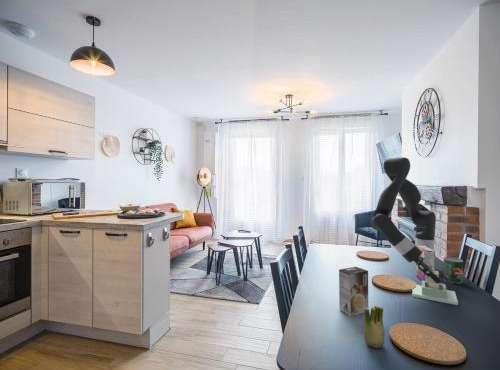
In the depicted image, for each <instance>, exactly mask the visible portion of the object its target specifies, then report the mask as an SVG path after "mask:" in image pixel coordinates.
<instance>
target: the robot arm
mask: <svg viewBox="0 0 500 370" xmlns="http://www.w3.org/2000/svg"><path fill="white" fill-rule="evenodd" d="M383 170H384V172H385V174H386V176H387V177H388V179H389V180H390V181H391V182H390V184H389V185H387V187H385V188H384V189H383V191H382V192H381V194H380V196H379V198H378V201H377V205H376V208H375V211H374V212H373V215H372V217H371V220H370V227H372V229H373V230H374V231H377V232H378V231H381V232H383V234H384V235H385V239H386V240H387V242H388V243H389V244H390V245H392V246H393V248H395V250H396V252H398V253H399V254H400V255H401V256H402V258H404V259H405V261H406V262H407V263H412V262H414V263H415V264H414V266H415V268H416V266H417V267H418V268H419V269H420V270H421V271H422V272H423V273H424V274H426V275H427V276H428V277H431V278H432V279H433V280H434V281H435V282H436V283H437V284H438V283H441V282H442V279H441V275H439V278H438V277H437V276H436V275H435V274H434V272H433V270H434V269H433V268H432V266H431V265H430V264H429V263H428V262H427V261H426V260H425V259H424V258H423V257H420V255H421V254H422V251H421V250H420V249H419V248H418V247H417V246H426V247H428V248H430V249H432V250H433V251H435V235H436V223H437V221H436V220H437V217H436V214H435V212H434V211H431V210H421V209H419V208H418V206H419V204H420V202H421V200H422V195H421V192H420V190H419V188H418V187H417V186H416V184H415V183H413V182H412V181H410V180H409V179H407V177H408V176H409V173H410V170H411V161H410V159H409V158H407V157H403V156H402V157H389V158H386V159H385V160H384V162H383ZM398 194H399V197H400V198H401V200H402V201H403V203H404V205H405V207H406V209H407V211H408V214H409V216H410V218H411V222H412V224H414V225H415V226H417V227H422V228H424V227H425V229H424V230H423V231H418V232H416V233H415V240H414V241H415V243H414V242H412V241H411V240H410V238H408V237H406V236H405V234H404V233H402V231H400V230H399V229H398V227H397V226H396V224H395V223H394V222H393V221H392V219H391V218H390V217H389V216H390V214H391V213H392V211H393V209H394V205H395V202H396V200H397V197H398ZM427 272H428V273H427Z"/></svg>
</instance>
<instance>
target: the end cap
mask: <svg viewBox="0 0 500 370" xmlns="http://www.w3.org/2000/svg"><path fill="white" fill-rule="evenodd" d="M415 285H416V288H414V289H413V288H412V292H411V295H412V297H413V298H418V299H424V300H429V301H435V302H439V303H444V304H450V305H455V306H459V301H458V298H457V294H456V291H455V290H448V289H447V285H446V283H441V282H440V283H439V289H434V288H429V281H422V280H421V285H420V284H415Z"/></svg>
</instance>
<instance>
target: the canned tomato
mask: <svg viewBox="0 0 500 370" xmlns="http://www.w3.org/2000/svg"><path fill="white" fill-rule="evenodd" d="M443 281H444V282H446V281H447V282H446V283H449V282H450V283H449V284H454V283H457V285H459V284H460V285H462V284H463V283H464V260H463V259H460V258H458V257H452V256H451V257H449V256H446V257H445V256H444V257H443ZM461 283H462V284H461Z"/></svg>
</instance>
